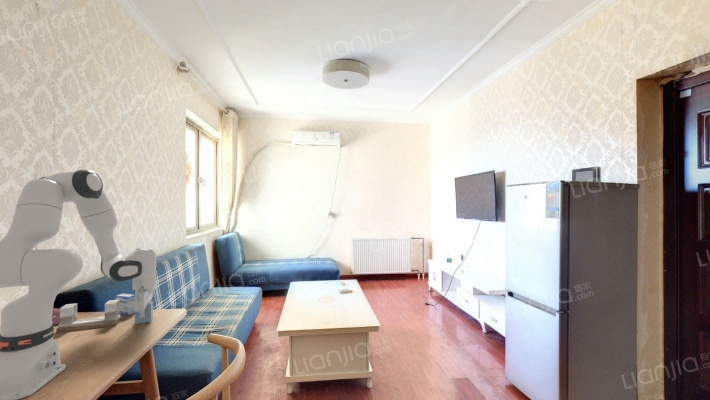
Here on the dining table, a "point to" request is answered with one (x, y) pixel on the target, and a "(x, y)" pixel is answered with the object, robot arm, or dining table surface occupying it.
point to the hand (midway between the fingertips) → (143, 314)
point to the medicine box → (126, 303)
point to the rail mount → (72, 323)
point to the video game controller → (56, 313)
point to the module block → (148, 314)
